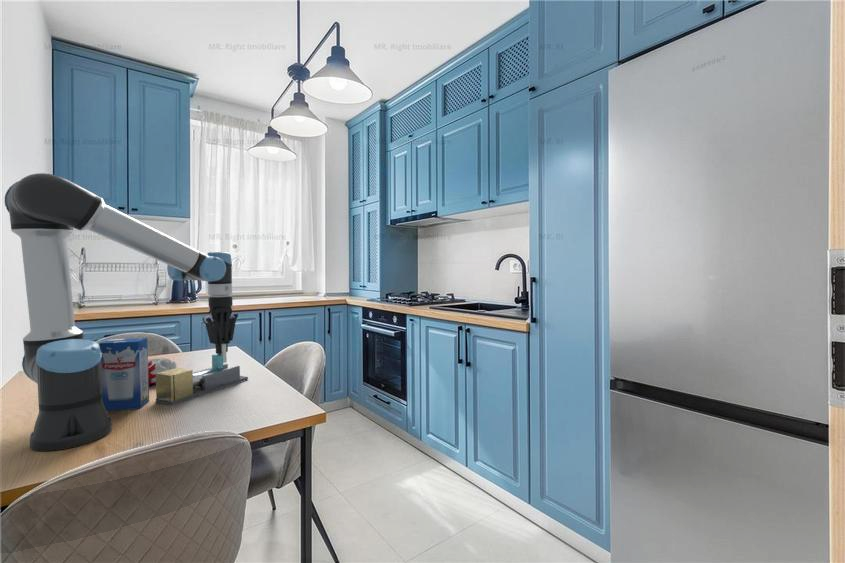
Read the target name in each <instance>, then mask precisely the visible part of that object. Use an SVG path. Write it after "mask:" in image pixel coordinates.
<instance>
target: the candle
mask: <svg viewBox="0 0 845 563" xmlns="http://www.w3.org/2000/svg"><path fill="white" fill-rule="evenodd" d="M175 368H178V366H177V363H176V361H175V360H173V359H170V358H167V357H153V358H148V379H149V386H153V385H156V373H159V372H163V371H167V370H171V369H175Z"/></svg>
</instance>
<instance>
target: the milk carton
mask: <svg viewBox="0 0 845 563" xmlns="http://www.w3.org/2000/svg"><path fill="white" fill-rule="evenodd" d="M98 344H99V346H100V351H101V354H102V358H101V374H102V401H103V403H104V406H105V408H106V410H107V412H110V411H114V412H115V411H122V410H136V409H141V408H143V407H144V406H146V405H147V404H148V403H149V402H150V385H149V379H148V359H149V357H148V356H149V355H148V354H149V351H148V350H149V349H148V337H135V338H133V337H132V338H131V337H130V338H111V339H110V338H109V339H107V340H104V341H102V342H99V343H98Z"/></svg>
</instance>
